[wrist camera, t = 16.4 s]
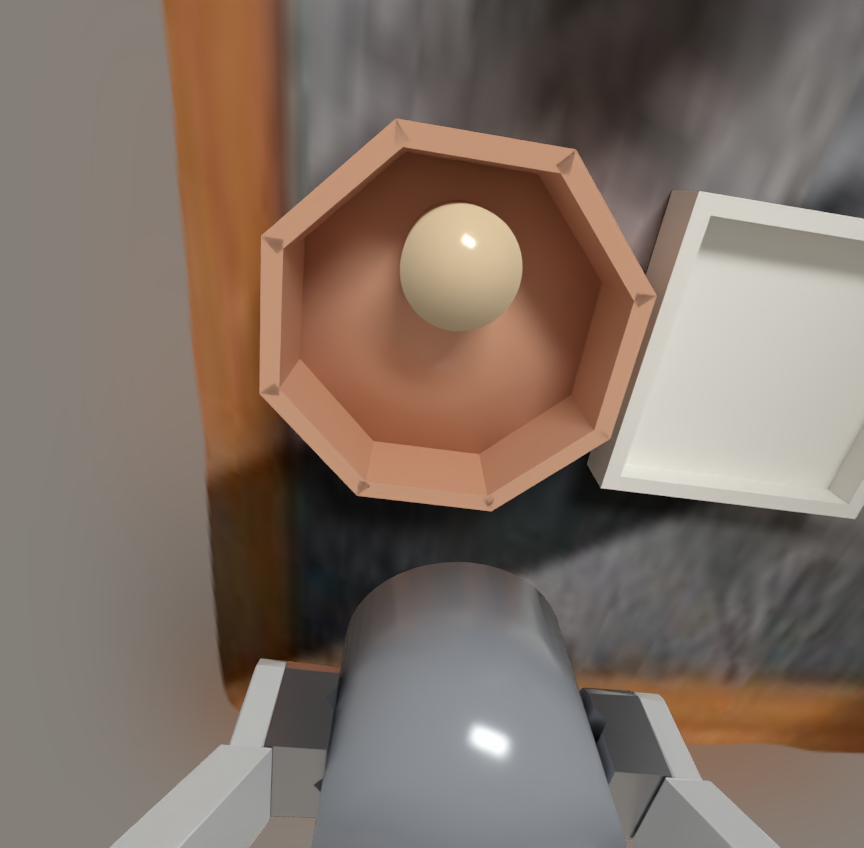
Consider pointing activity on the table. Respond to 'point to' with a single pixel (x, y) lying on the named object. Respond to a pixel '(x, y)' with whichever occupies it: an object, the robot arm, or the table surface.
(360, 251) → the bowl
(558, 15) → the table surface
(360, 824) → the slate pebble
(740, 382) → the tray
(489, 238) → the sand pebble
